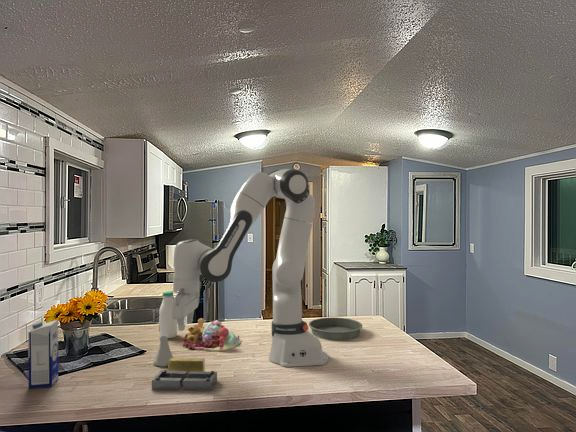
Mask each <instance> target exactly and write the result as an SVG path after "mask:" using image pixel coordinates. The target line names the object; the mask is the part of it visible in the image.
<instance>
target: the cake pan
mask: <svg viewBox="0 0 576 432" xmlns="http://www.w3.org/2000/svg"><path fill="white" fill-rule="evenodd" d="M308 328H310V329H311V334H312V335H313V336H315V337H316V338H319V339H323V340H328V341H329V340H331V341H344V340H345V341H347V340H352V339H356V338H357V337H358V336H359V335H360V331H361V329H362V328H363V324H362V323H361V322H359V320H355V319H351V318H344V317H321V318H316V319H313V320H311V321H309V322H308Z"/></svg>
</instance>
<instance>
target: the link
mask: <svg viewBox="0 0 576 432" xmlns="http://www.w3.org/2000/svg"><path fill="white" fill-rule="evenodd" d="M185 378H188V375H187V371H168V370H166V369H163V370H160V371H158V373H156V375H155V376H154V377H153V378H152V379H151V390H152V391H181V390H182V389H183V380H184V379H185Z"/></svg>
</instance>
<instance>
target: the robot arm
mask: <svg viewBox="0 0 576 432" xmlns="http://www.w3.org/2000/svg"><path fill="white" fill-rule="evenodd" d="M309 185H310V184H309V179H308V177H307V175H306V174H305V173H304V172H303V171H301V170H298V169H296V168H295V169H292V168H283V169H277V170H274V171H272V172H269V173H266V172H263V171H255V172H254V173H252V174H251V175H250V176H249V178H247V180H245V182H244V183H243V184H242V185H241V188H239V189H238V191H237V193H236V195H235V197H234V198H233V200H232V203H231V205H230V209H229V214H230V216H229V217H230V220H229V224H228V227H227V228H226V231H225V232H224V233H223V236H222V237H221V239H220V241H219V243H218V244H217V245H216V247H215V248H213V247H210V246H208V245H206V244H204V243H202V242H200V241H199V239H194V238H192V239H185V240H182V241H179V242H178V243H176V244H175V247H174V250H173V262H172V263H173V270H174V274H173V279H172V292H173V294H175V295H173V304H172V318H173V319H174V320H177V331H180V332H183V331H184V330H185V328H186V325H185V319H186V323H187V324H192V323H193V318H194V313H195V310H196V309H197V308H198V307H199V304H200V296H201V295H200V292H201V289H202V281H200V276H203V278H204V279H205V280H207V281H209V282H210V283H220V282H223V281H224V280H225V279H227V278H228V276H229V275H230V273H231V271H232V267H233V260H234V256H235V254H236V252H237V251H238V248H239V247H240V245H241V243H242V242H243V240H244V238H245V236H246V234H247V233H248V231H249V230H250V229H251V227H252V226H253V225H254V224H255V222H256V221H257V220H258V218H259V217H260V215H261V214H262V213H263V211H264V209H265V208H266V206H267V204H268V203H269V201H270V200H271V199H272V198H279V199H282V200H284V201H285V207H286V210H285V213H284V218H283V223H282V226H281V230H280V235H279V240H278V246H277V252H276V256H275V260H274V261H273V264H272V269H271V270H272V275H271V276H272V321H271V327H270V328H271V331H270V332H271V337H272V339H271V347H270V352H269V355H268V360H269V361H270V362H272V363H275V364H278V365H279V366H282V367H285V368H289V367H291V368H293V367H307V366H325V365H326V364H328V363H329V355H328V353H327V352H326V351H324V350H323V346H322V343H321V341H320V339H318V337H316V336H314V335H313V334H312V332H310V331H308V330H309V324H308V323H307V321H305V320H303V297H302V279H303V278H304V272H305V268H306V267H305V265H306V262H307V261H306V260H307V254H308V248H309V241H310V237H311V233H312V228H313V223H314V218H315V209H316V200H315V198H314V196H313V195H311V193H310V189H309V187H310V186H309Z"/></svg>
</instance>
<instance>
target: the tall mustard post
mask: <svg viewBox="0 0 576 432" xmlns="http://www.w3.org/2000/svg"><path fill="white" fill-rule="evenodd" d="M205 364H206V362H205V358H199V357H198V358H195V357H194V358H193V357H192V358H184V357H173V358H170V359H169V360H168V366H167V369H168V370H167V371H187V376H188V374H189V372H190V371H198V372H206V369H205Z"/></svg>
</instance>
